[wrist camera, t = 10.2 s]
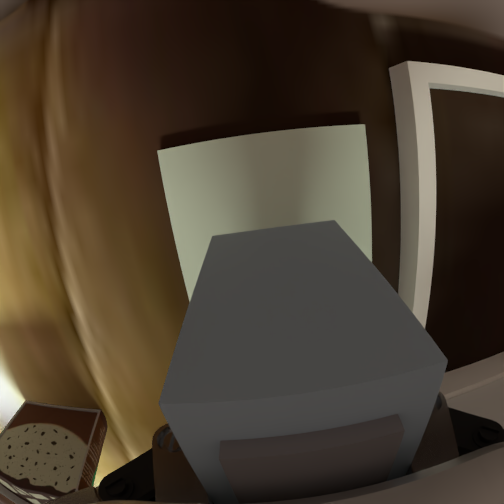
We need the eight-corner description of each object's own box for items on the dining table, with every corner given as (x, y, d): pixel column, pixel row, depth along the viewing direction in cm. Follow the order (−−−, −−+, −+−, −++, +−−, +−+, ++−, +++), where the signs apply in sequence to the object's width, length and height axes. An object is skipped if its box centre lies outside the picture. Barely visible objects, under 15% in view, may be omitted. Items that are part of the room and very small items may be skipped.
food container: (45, 438, 25) (12, 506, 15) (16, 398, 22) (-28, 469, 13) (143, 453, 24) (119, 543, 15) (116, 410, 22) (77, 512, 12)
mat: (360, 124, 15) (364, 124, 14) (362, 375, 20) (365, 381, 20) (160, 149, 15) (157, 150, 14) (218, 394, 21) (217, 400, 20)
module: (334, 220, 12) (458, 376, 4) (336, 394, 15) (374, 542, 7) (212, 236, 12) (153, 423, 4) (248, 405, 15) (247, 560, 7)
